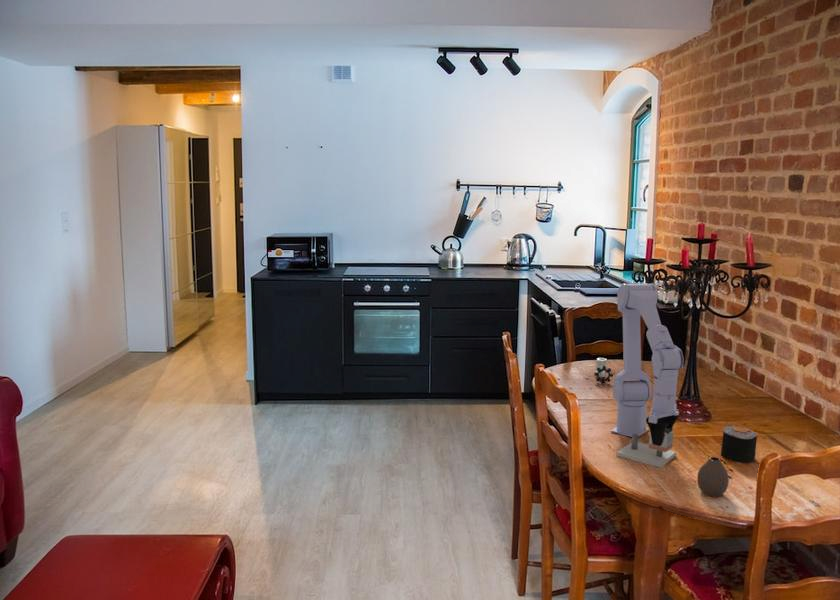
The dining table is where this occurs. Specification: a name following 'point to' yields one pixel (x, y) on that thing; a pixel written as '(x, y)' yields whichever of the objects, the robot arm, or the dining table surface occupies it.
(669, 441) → the sleeve
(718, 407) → the dining table surface
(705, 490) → the vase
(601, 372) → the valve
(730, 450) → the sushi
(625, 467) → the dining table surface
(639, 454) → the pin board
